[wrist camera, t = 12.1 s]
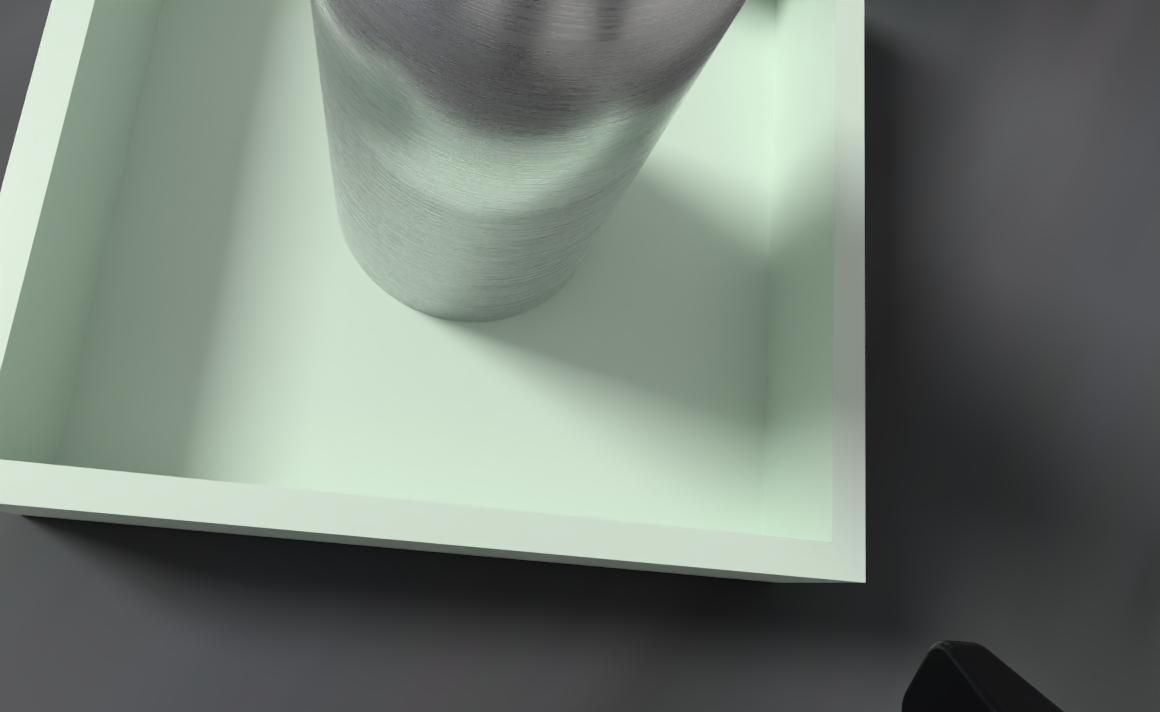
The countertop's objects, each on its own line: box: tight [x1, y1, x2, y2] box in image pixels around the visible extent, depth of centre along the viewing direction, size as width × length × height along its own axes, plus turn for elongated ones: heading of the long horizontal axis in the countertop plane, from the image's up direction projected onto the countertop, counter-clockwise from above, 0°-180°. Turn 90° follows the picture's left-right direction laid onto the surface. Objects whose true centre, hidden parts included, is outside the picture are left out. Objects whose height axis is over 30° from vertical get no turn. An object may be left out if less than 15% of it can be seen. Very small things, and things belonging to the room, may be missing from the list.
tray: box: [0, 0, 866, 583], centre depth 17 cm, size 14×14×4 cm
